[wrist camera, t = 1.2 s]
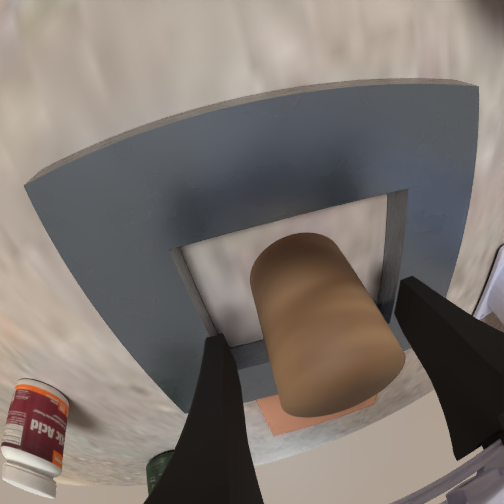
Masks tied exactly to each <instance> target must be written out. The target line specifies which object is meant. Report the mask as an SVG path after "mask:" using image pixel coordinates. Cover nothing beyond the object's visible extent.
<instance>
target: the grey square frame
mask: <svg viewBox="0 0 504 504" xmlns="http://www.w3.org/2000/svg"><path fill="white" fill-rule="evenodd" d="M478 121H479V86H476V85H472V84H469V83H465V82H461V81H457V80H448V79H419V78H402V79H372V80H356V81H344V82H334V83H325V84H316V85H309V86H302V87H295V88H289V89H283V90H277V91H271V92H266V93H261V94H256V95H251V96H246V97H242V98H237V99H233V100H229V101H224V102H220V103H216V104H212V105H209V106H205V107H201V108H197V109H194V110H190V111H187V112H184V113H180V114H177V115H174V116H170V117H167V118H164V119H161V120H158V121H155V122H152V123H149V124H146V125H143V126H141V127H138V128H135V129H132V130H130V131H127V132H124V133H122V134H119V135H117V136H114V137H112V138H109V139H107V140H104V141H102V142H99V143H97V144H95V145H92V146H90V147H88V148H85V149H83V150H81V151H79V152H77V153H74V154H72V155H70V156H68V157H66V158H64V159H62V160H60V161H58V162H56V163H54V164H52V165H50V166H48V167H46V168H44V169H42V170H41V171H39V172H38V173H37V174H36V175H35V176H34V177H33V178H31V179H30V180H29V181H28V182H27V183H26V184H25V185H24V188H25V190H26V192H27V194H28V196H29V198H30V200H31V202H32V204H33V206H34V208H35V210H36V212H37V214H38V216H39V218H40V220H41V222H42V224H43V226H44V227H45V229H46V231H47V233H48V235H49V236H50V238H51V240H52V242H53V243H54V245H55V247H56V249H57V250H58V252H59V254H60V255H61V257H62V259H63V260H64V262H65V264H66V265H67V267H68V268H69V270H70V272H71V273H72V275H73V276H74V278H75V279H76V281H77V282H78V284H79V285H80V287H81V288H82V290H83V291H84V293H85V294H86V296H87V297H88V299H89V300H90V302H91V303H92V304H93V306H94V307H95V309H96V310H97V311H98V313H99V314H100V316H101V317H102V318H103V320H104V321H105V322H106V324H107V325H108V326H109V328H110V329H111V330H112V332H113V333H114V334H115V335H116V337H117V338H118V339H119V341H120V342H121V343H122V344H123V346H124V347H125V348H126V349H127V350H128V352H129V353H130V354H131V355H132V356H133V358H134V359H135V360H136V361H137V362H138V364H139V365H140V366H141V367H142V368H143V369H144V371H145V372H146V373H147V374H148V375H149V376H150V377H151V378H152V380H153V381H154V382H155V383H156V384H157V385H158V386H159V387H160V388H161V389H162V390H163V392H164V393H165V394H166V395H167V396H168V397H169V398H170V399H171V400H172V401H173V402H174V403H175V404H176V405H177V406H178V407H179V408H180V409H181V410H182V411H183V412H184V413H189V410H190V407H191V404H192V400H193V397H194V394H195V390H196V386H197V381H198V377H199V373H200V368H201V363H202V358H203V351H204V344H205V339H206V338H207V337H211V336H216V335H218V334H217V332H216V330H215V328H214V325H213V323H212V321H211V319H210V317H209V315H208V312H207V310H206V308H205V306H204V304H203V301H202V299H201V297H200V295H199V292H198V290H197V288H196V286H195V283H194V281H193V279H192V276H191V274H190V272H189V269H188V267H187V265H186V262H185V260H184V258H183V255H182V253H181V250H180V248H179V247H180V246H184V245H188V244H191V243H195V242H198V241H202V240H206V239H209V238H213V237H217V236H220V235H224V234H228V233H232V232H235V231H239V230H243V229H246V228H250V227H254V226H258V225H262V224H265V223H269V222H273V221H277V220H281V219H285V218H289V217H293V216H297V215H300V214H304V213H308V212H312V211H316V210H320V209H324V208H328V207H332V206H336V205H341V204H345V203H349V202H353V201H357V200H361V199H365V198H370V197H374V196H378V195H382V194H387V193H388V206H387V226H386V240H385V252H384V263H383V272H382V281H381V289H380V297H379V304H378V305H376V306H377V308H378V309H379V311H380V313H381V314H382V316H383V318H384V319H385V321H386V322H387V324H388V326H389V327H390V329H391V331H392V333H393V334H394V336H395V338H396V339H397V341H398V343H399V344H400V346H401V348H402V350H403V351H405V350H408V349H410V348H412V347H411V345H410V344H409V342H408V341H407V339H406V337H405V336H404V334H403V332H402V330H401V328H400V326H399V323H398V321H397V319H396V317H395V315H394V311H395V306H396V301H397V296H398V291H399V285H400V280H402V279H405V278H407V277H410V276H414V277H415V278H417V279H418V280H420V281H421V282H423V283H424V284H426V285H427V286H429V287H430V288H431V289H433V290H434V291H436V292H437V293H439V294H440V295H441V296H443V297H444V298H446V295H447V292H448V289H449V285H450V282H451V279H452V276H453V272H454V269H455V265H456V262H457V258H458V254H459V250H460V246H461V242H462V238H463V234H464V229H465V224H466V220H467V215H468V209H469V204H470V198H471V192H472V185H473V178H474V170H475V162H476V152H477V139H478ZM230 351H231V353H232V355H233V357H234V360H235V362H236V365H237V370H238V374H239V379H240V383H241V389H242V398H243V403H244V402H249V401H253V400H257V399H262V398H266V397H270V396H274V395H278V392H277V388H276V384H275V380H274V376H273V372H272V368H271V364H270V360H269V357H268V353H267V349H266V345H265V341H264V340H262V341H258V342H254V343H250V344H246V345H242V346H238V347H234V348H230Z"/></svg>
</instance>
